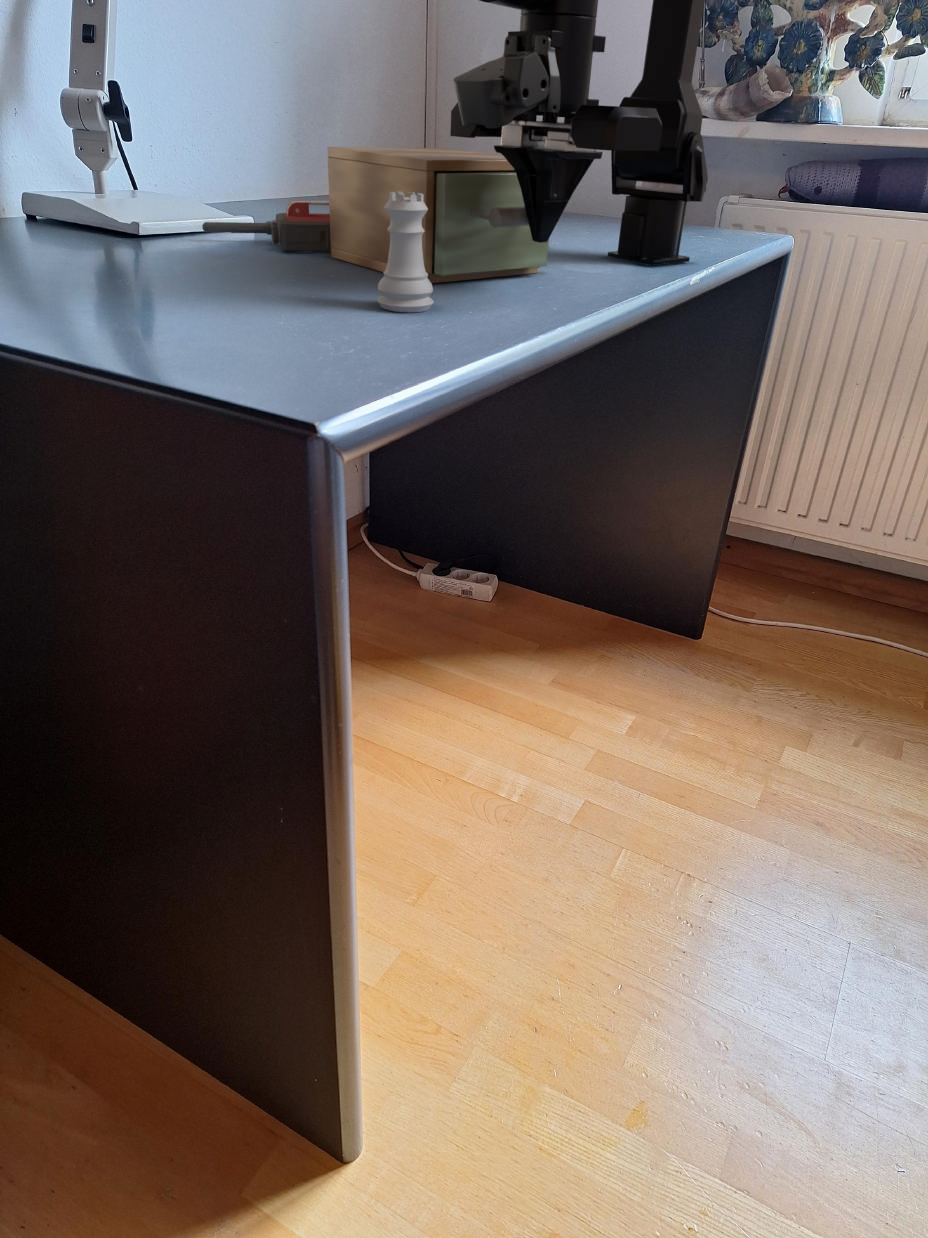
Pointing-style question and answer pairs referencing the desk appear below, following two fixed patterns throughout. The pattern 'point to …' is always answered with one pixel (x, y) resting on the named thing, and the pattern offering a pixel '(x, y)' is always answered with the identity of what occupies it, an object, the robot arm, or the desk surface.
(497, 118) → the robot arm
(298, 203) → the walkie-talkie
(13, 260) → the desk surface
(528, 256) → the drawer
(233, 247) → the desk surface
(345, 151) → the cabinet
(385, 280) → the rook chess piece
